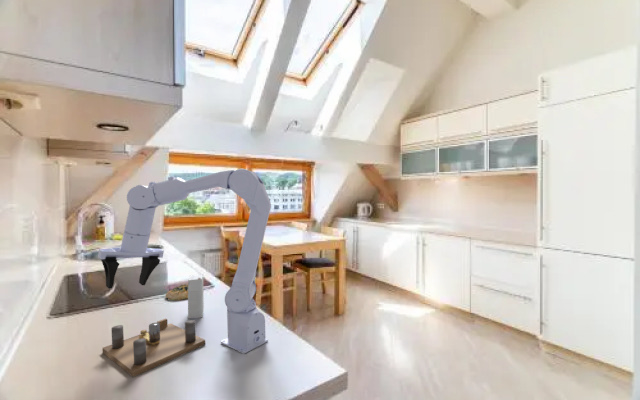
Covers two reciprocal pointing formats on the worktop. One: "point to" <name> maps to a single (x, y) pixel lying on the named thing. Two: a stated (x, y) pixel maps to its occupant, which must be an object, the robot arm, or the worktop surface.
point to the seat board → (151, 347)
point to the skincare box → (195, 296)
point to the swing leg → (152, 334)
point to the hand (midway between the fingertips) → (126, 285)
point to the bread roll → (178, 293)
